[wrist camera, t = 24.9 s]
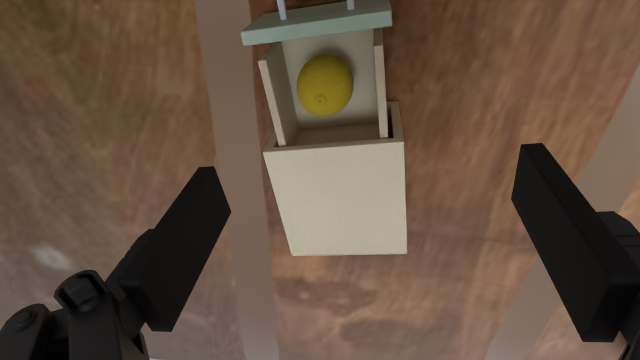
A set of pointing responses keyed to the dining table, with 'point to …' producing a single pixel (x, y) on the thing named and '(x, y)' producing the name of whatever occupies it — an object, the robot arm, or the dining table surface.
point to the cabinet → (342, 193)
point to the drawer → (318, 39)
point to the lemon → (324, 85)
